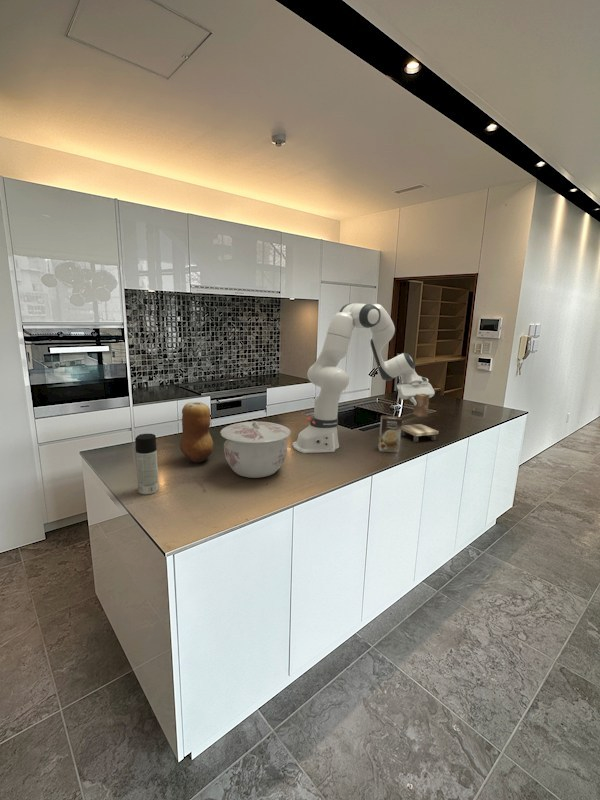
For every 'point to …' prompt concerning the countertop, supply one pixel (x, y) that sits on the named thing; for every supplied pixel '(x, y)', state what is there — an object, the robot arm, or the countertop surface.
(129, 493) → the countertop surface
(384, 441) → the coffee box
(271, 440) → the chamber pot
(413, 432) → the peg shelf
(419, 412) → the walnut block
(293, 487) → the countertop surface
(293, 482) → the countertop surface
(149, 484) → the spray can
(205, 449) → the butternut squash
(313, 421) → the robot arm
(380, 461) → the countertop surface
